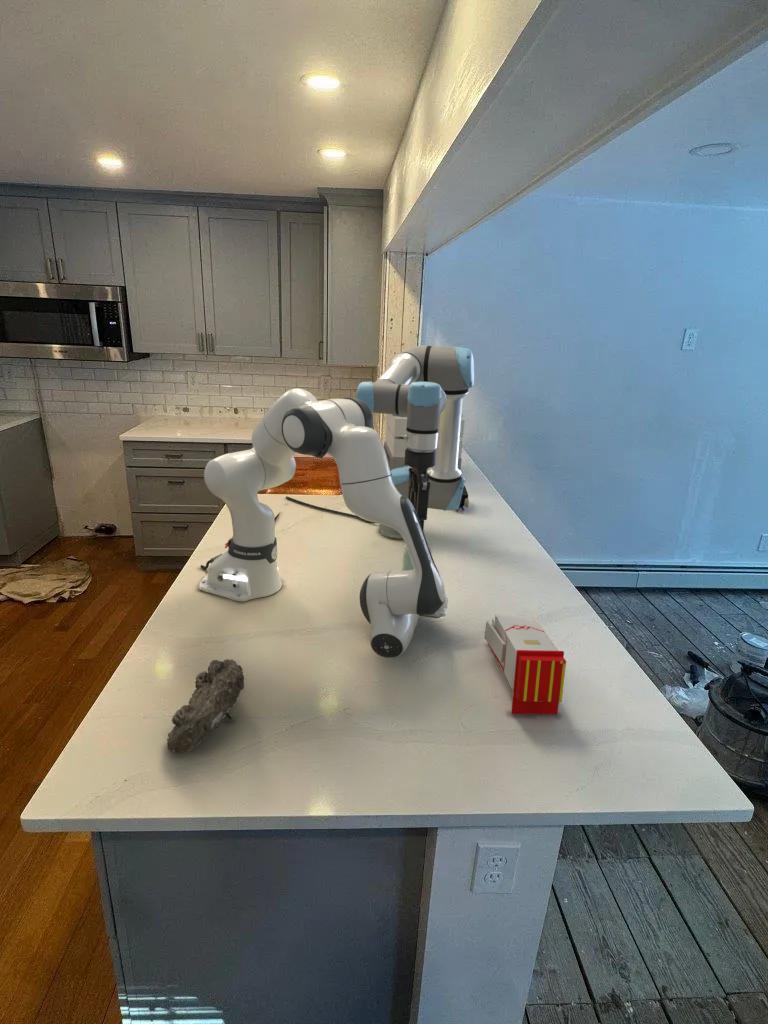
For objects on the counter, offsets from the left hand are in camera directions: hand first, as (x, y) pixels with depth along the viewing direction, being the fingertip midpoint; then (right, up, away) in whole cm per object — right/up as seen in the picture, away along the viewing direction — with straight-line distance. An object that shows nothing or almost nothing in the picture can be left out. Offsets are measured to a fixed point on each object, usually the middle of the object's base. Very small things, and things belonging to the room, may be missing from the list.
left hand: (412, 585), depth 148 cm
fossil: (-40, -20, -40) cm, 60 cm away
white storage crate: (+10, +38, +127) cm, 133 cm away
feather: (-47, +18, +63) cm, 81 cm away
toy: (+22, -16, -23) cm, 36 cm away
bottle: (0, -7, +1) cm, 7 cm away
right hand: (0, +12, -5) cm, 14 cm away
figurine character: (+23, +21, +82) cm, 88 cm away
